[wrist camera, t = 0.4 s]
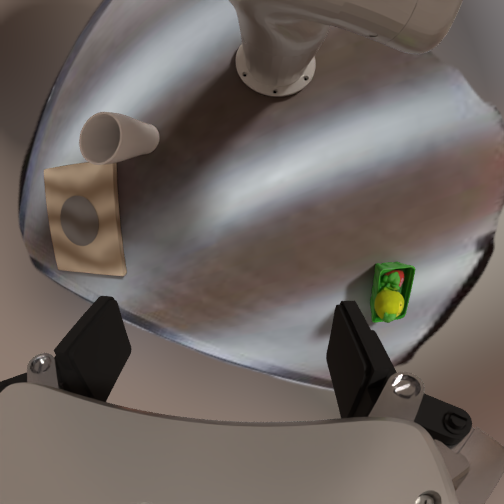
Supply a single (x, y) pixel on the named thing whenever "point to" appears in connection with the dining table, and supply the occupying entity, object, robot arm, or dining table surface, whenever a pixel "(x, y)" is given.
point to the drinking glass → (116, 138)
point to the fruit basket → (391, 291)
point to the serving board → (85, 218)
